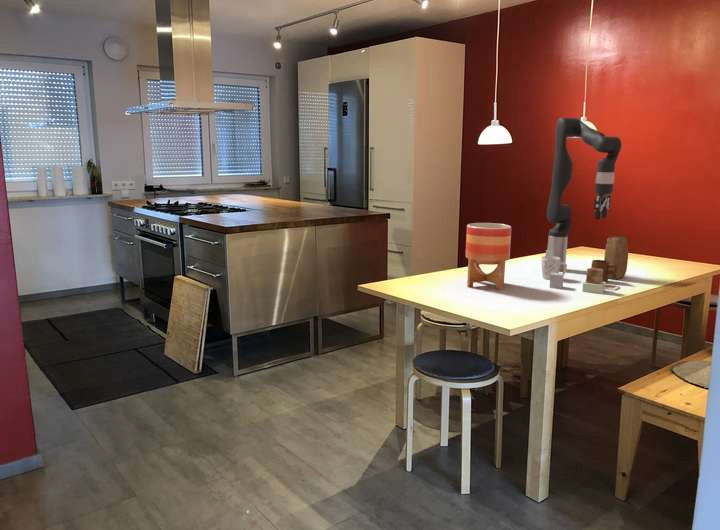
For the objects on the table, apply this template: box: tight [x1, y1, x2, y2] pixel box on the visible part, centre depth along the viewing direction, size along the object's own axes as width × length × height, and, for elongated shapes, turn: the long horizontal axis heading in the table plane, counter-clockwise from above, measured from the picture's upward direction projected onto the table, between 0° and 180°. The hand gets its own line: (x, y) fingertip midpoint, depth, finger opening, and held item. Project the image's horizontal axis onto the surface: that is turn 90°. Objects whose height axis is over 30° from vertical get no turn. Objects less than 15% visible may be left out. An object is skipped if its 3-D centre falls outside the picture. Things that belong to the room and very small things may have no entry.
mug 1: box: [541, 255, 568, 281], centre depth 272 cm, size 11×8×10 cm
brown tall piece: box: [603, 235, 629, 280], centre depth 275 cm, size 11×8×20 cm
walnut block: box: [585, 266, 603, 284], centre depth 248 cm, size 5×5×6 cm
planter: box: [465, 222, 512, 291], centre depth 256 cm, size 20×20×27 cm
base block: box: [581, 279, 606, 295], centre depth 249 cm, size 8×8×4 cm
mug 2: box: [590, 259, 618, 283], centre depth 267 cm, size 12×8×9 cm, turn 39°
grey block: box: [549, 272, 565, 290], centre depth 255 cm, size 5×5×6 cm
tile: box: [605, 283, 621, 291], centre depth 256 cm, size 7×7×1 cm
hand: (600, 218), depth 259 cm, fingers open, 8 cm apart
